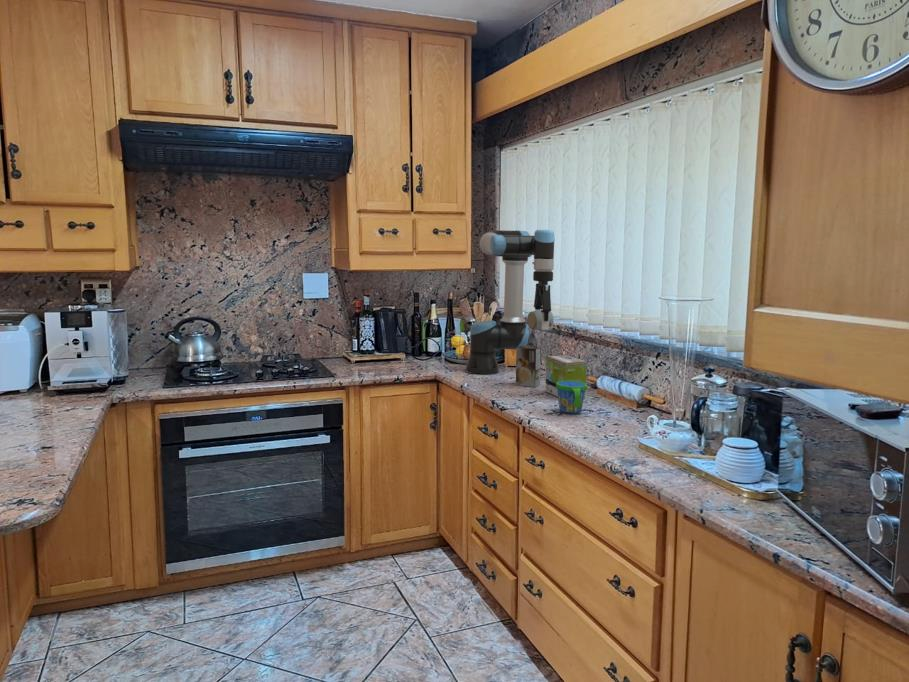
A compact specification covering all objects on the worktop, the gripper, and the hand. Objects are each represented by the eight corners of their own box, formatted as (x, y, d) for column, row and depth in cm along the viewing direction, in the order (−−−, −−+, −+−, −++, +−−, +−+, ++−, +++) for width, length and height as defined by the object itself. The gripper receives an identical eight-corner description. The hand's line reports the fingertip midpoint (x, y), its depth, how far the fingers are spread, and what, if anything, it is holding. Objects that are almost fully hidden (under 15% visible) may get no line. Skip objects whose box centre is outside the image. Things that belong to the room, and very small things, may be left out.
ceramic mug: (525, 328, 259) (526, 308, 258) (543, 327, 263) (544, 308, 261) (539, 332, 250) (540, 311, 249) (558, 331, 253) (558, 311, 252)
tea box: (544, 392, 265) (545, 355, 263) (566, 390, 269) (567, 354, 267) (563, 400, 251) (564, 361, 250) (586, 398, 255) (587, 360, 253)
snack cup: (590, 417, 225) (591, 388, 224) (559, 417, 225) (560, 387, 224) (580, 406, 241) (582, 379, 240) (551, 406, 241) (552, 378, 239)
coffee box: (540, 385, 279) (542, 347, 277) (535, 387, 274) (536, 349, 272) (520, 382, 284) (521, 345, 282) (514, 385, 278) (515, 347, 276)
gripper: (527, 269, 265) (525, 324, 268) (540, 271, 242) (538, 331, 244) (545, 270, 266) (544, 324, 268) (560, 271, 242) (558, 331, 245)
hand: (541, 327), depth 256 cm, fingers closed on ceramic mug, 11 cm apart
